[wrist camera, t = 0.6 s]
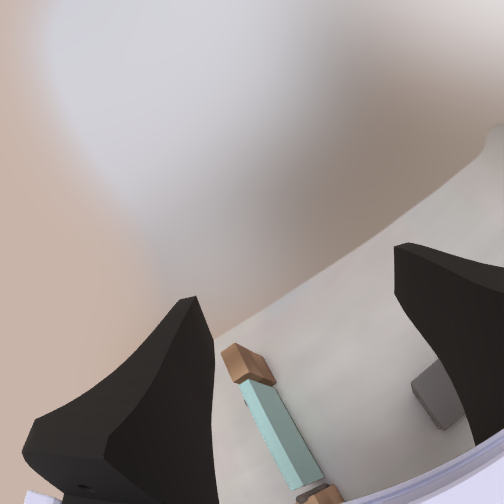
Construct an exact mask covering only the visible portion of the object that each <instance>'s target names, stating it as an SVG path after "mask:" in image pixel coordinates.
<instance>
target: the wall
mask: <svg viewBox="0 0 504 504" xmlns="http://www.w3.org/2000/svg"><path fill="white" fill-rule="evenodd" d="M221 356H222V358H223V360H224V363H225V365H226V367H227V369H228V372H229V374H230V376H231V378H232V381H233V382H234V383H237V384H241V383H243V382H244V381H246V380H247V379H250V380H253V381H256V382H258V383H261V384H264V385H267V386H272V385H273V384H275V383H277V382H276V381H275V379H274V377H273V375H272V373H271V371H270V369H269V367H268V366H267V364H266V362H265V360H264V358H263V357H262V356H260V355H258V354H256V353H254V352H252V351H250V350H248V349H246V348H244V347H242V346H240V345H239V344H237V343H234V344H232V345H231V346H229V347H228V348H227V349H225V350H224V351H222V352H221ZM296 502H297V503H295V504H340V503H344V500H343V498H342V497H341V495H340V493H339V492H338V490H337V488H336V487H335V485H334V484H333V485H331V486H329V485H328V484H322V485H320V486H318V487H316V488H314V489H312V490H310V491H308V492H305V493H303V494H301V495H299V496H297V497H296Z"/></svg>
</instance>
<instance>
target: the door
mask: <svg viewBox="0 0 504 504" xmlns="http://www.w3.org/2000/svg"><path fill="white" fill-rule="evenodd" d="M238 386H239V388H240V390H241V392H242V394H243V396H244V401H245V404H246V405H247V407H248V408H249V409H250V411H251V413H252V415H253V418H254V420H255V422H256V424H257V426H258V428H259V430H260V432H261V434H262V436H263V438H264V440H265V442H266V444H267V446H268V448H269V450H270V452H271V454H272V456H273V458H274V460H275V462H276V464H277V465H278V467H279V469H280V471H281V473H282V475H283V477H284V479H285V481H286V482H287V484H288V486H289V488H290V490H291V491H293V490H296V489H298V488H301V487H303V486H306V485H308V484H311V483H313V482H315V481H317V480H319V479H321V478H323V477H324V476H323V474H322V472H321V470H320V469H319V467H318V465H317V464H316V462H315V460H314V458H313V457H312V455H311V453H310V451H309V449H308V448H307V446H306V444H305V442H304V441H303V439H302V437H301V435H300V433H299V432H298V430H297V428H296V426H295V424H294V423H293V421H292V419H291V417H290V415H289V413H288V412H287V410H286V408H285V406H284V404H283V402H282V401H281V399H280V397H279V395H278V393H277V391H276V389H275V388H273V387H270V386H267V385H264V384H261V383H258V382H256V381H253V380H250V379H247V380H246V381H244V382H243V383H241V384H240V385H238Z"/></svg>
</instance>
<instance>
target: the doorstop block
mask: <svg viewBox="0 0 504 504" xmlns="http://www.w3.org/2000/svg"><path fill="white" fill-rule="evenodd" d="M411 386H412V391H413V393H414V394H415V396H416V397H417V399H418V400H419V401H420V403H421V404H422V406H423V407H424V408H425V410H426V411H427V413H428V414H429V415H430V417H431V418H432V420H433V421H434V422H435V424H436V425H437V427H438V428H439V429H442V430H446V429H447V428H448V427H449V426H451V425H452V424H453V423H454V422H455V421H457V420H458V419H459V418H460V417H461V416H462V415H464V414H465V411H464V409H463V406H462V404H461V401H460V399H459V397H458V394H457V392H456V390H455V388H454V386H453V384H452V381H451V379H450V378H449V376H448V374H447V372H446V370H445V368H444V366H443V364H442V363H441V361H440V359H438V360H437V361H435V362H434V363H433V364H432V365H431V366H430V367H429V368H427V369H426V370H425V371H424V372H423V373H422V374H420V375H419V376H418V377H417V378H416V379H414V380H413V381H412V382H411Z"/></svg>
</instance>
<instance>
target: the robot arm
mask: <svg viewBox="0 0 504 504" xmlns="http://www.w3.org/2000/svg"><path fill="white" fill-rule="evenodd" d="M394 274H395V289H394V294H395V296H396V297H397V299H398V301H399V303H400V305H401V306H402V308H403V310H404V312H405V313H406V315H407V316H408V317H409V319H410V320H411V321H412V323H413V324H414V325H415V327H416V328H417V329H418V331H419V332H420V333H421V335H422V336H423V337H424V339H425V340H426V341H427V343H428V344H429V345H430V347H431V348H432V349H433V351H434V352H435V353H436V355H437V356H438V358H439V359H440V361H441V363H442V364H443V366H444V368H445V370H446V372H447V374H448V376H449V378H450V379H451V381H452V384H453V386H454V388H455V390H456V392H457V394H458V397H459V399H460V401H461V404H462V406H463V409H464V411H465V414H466V417H467V419H468V422H469V425H470V428H471V432H472V435H473V438H474V442H475V445H476V447H474V448H472V449H470V450H469V451H467V452H465V453H463V454H462V455H460V456H458V457H456V458H454V459H452V460H450V461H449V462H447V463H445V464H443V465H441V466H439V467H437V468H434V469H432V470H430V471H428V472H426V473H424V474H421V475H419V476H417V477H415V478H412V479H410V480H408V481H405V482H403V483H400V484H398V485H395V486H392V487H390V488H387V489H384V490H382V491H379V492H376V493H373V494H370V495H367V496H364V497H361V498H357V499H354V500H351V501H347V502H344V503H340V504H504V268H503V267H498V266H493V265H488V264H483V263H479V262H476V261H472V260H468V259H465V258H461V257H458V256H454V255H451V254H448V253H445V252H442V251H439V250H435V249H432V248H429V247H425V246H422V245H418V244H414V243H404V244H401V245H397V246H394ZM214 373H215V353H214V340H213V338H212V335H211V333H210V331H209V328H208V325H207V323H206V320H205V318H204V315H203V313H202V310H201V307H200V305H199V302H198V300H197V297H196V296H194V297H189V298H185V299H180V300H179V301H178V302H177V303H176V304H175V305H174V306H173V308H172V309H171V310H170V311H169V312H168V314H167V315H166V316H165V317H164V319H163V320H162V321H161V322H160V324H159V325H158V326H157V327H156V329H155V330H154V331H153V332H152V333H151V334H150V335H149V337H148V338H147V339H146V340H145V341H144V342H143V343H142V345H140V346H139V348H138V349H137V350H136V351H135V352H134V353H133V354H132V355H131V356H130V357H129V358H128V359H127V360H126V361H125V362H124V363H123V364H122V365H120V366H119V367H118V368H117V369H116V370H115V371H114V372H112V373H111V374H110V375H109V376H107V377H106V378H105V379H103V380H102V381H101V382H99V383H98V384H97V385H95V386H94V387H93V388H91V389H90V390H89V391H87V392H86V393H84V394H82V395H81V396H80V397H78V398H76V399H74V400H73V401H71V402H69V403H68V404H66V405H64V406H62V407H60V408H58V409H56V410H54V411H52V412H50V413H48V414H46V415H44V416H42V417H40V418H37V419H35V421H34V423H33V426H32V428H31V430H30V433H29V435H28V437H27V440H26V442H25V445H24V447H23V450H22V454H23V457H24V459H25V461H26V462H27V463H28V465H29V466H30V467H31V468H32V469H33V470H34V471H35V472H37V473H38V474H39V475H40V476H42V477H43V478H44V479H45V480H47V481H48V482H49V483H51V484H52V485H53V486H55V487H56V488H57V489H59V490H60V491H62V492H63V493H64V497H63V500H62V501H61V500H59V499H57V498H54V497H51V496H48V495H44V494H41V493H37V492H34V491H31V490H29V491H27V494H26V497H25V501H24V504H219V499H218V492H217V485H216V477H215V469H214V458H213V447H212V431H211V414H212V400H213V387H214Z"/></svg>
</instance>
